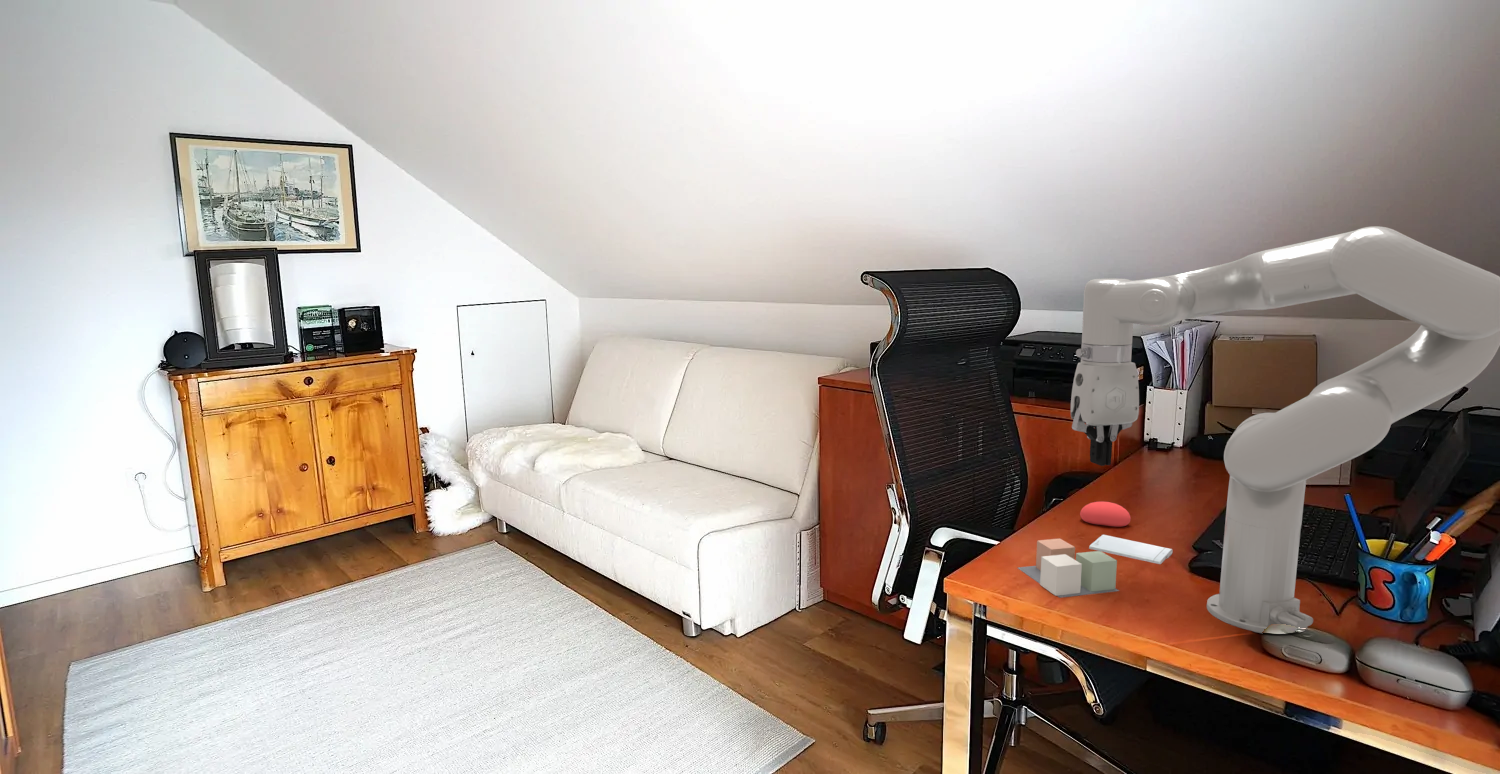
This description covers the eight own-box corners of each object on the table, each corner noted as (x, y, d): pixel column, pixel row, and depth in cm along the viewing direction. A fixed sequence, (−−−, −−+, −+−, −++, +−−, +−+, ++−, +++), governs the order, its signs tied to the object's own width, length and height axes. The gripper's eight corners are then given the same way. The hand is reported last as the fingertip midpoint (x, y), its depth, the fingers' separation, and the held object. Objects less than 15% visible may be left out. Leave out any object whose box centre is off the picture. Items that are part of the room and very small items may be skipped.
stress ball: (1118, 539, 159) (1134, 512, 158) (1075, 516, 163) (1090, 490, 163) (1119, 540, 163) (1135, 513, 163) (1078, 517, 168) (1092, 491, 167)
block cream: (1080, 592, 129) (1081, 564, 129) (1055, 595, 128) (1056, 566, 128) (1064, 582, 134) (1065, 554, 133) (1040, 584, 133) (1041, 556, 132)
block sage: (1115, 589, 131) (1117, 560, 130) (1091, 591, 130) (1092, 562, 129) (1098, 578, 135) (1099, 550, 134) (1074, 581, 134) (1076, 553, 133)
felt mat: (1119, 593, 130) (1119, 590, 130) (1059, 599, 128) (1059, 597, 128) (1072, 563, 143) (1072, 561, 143) (1017, 569, 140) (1017, 567, 140)
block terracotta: (1073, 574, 137) (1075, 547, 136) (1050, 577, 136) (1051, 549, 135) (1058, 565, 141) (1059, 538, 140) (1035, 567, 140) (1037, 540, 139)
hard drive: (1088, 545, 149) (1160, 560, 141) (1103, 533, 155) (1172, 547, 147) (1088, 553, 149) (1160, 569, 141) (1102, 541, 155) (1172, 556, 147)
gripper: (1080, 359, 123) (1075, 473, 126) (1161, 355, 127) (1154, 465, 130) (1051, 354, 131) (1047, 461, 133) (1129, 350, 134) (1123, 455, 137)
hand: (1100, 463), depth 132 cm, fingers closed
